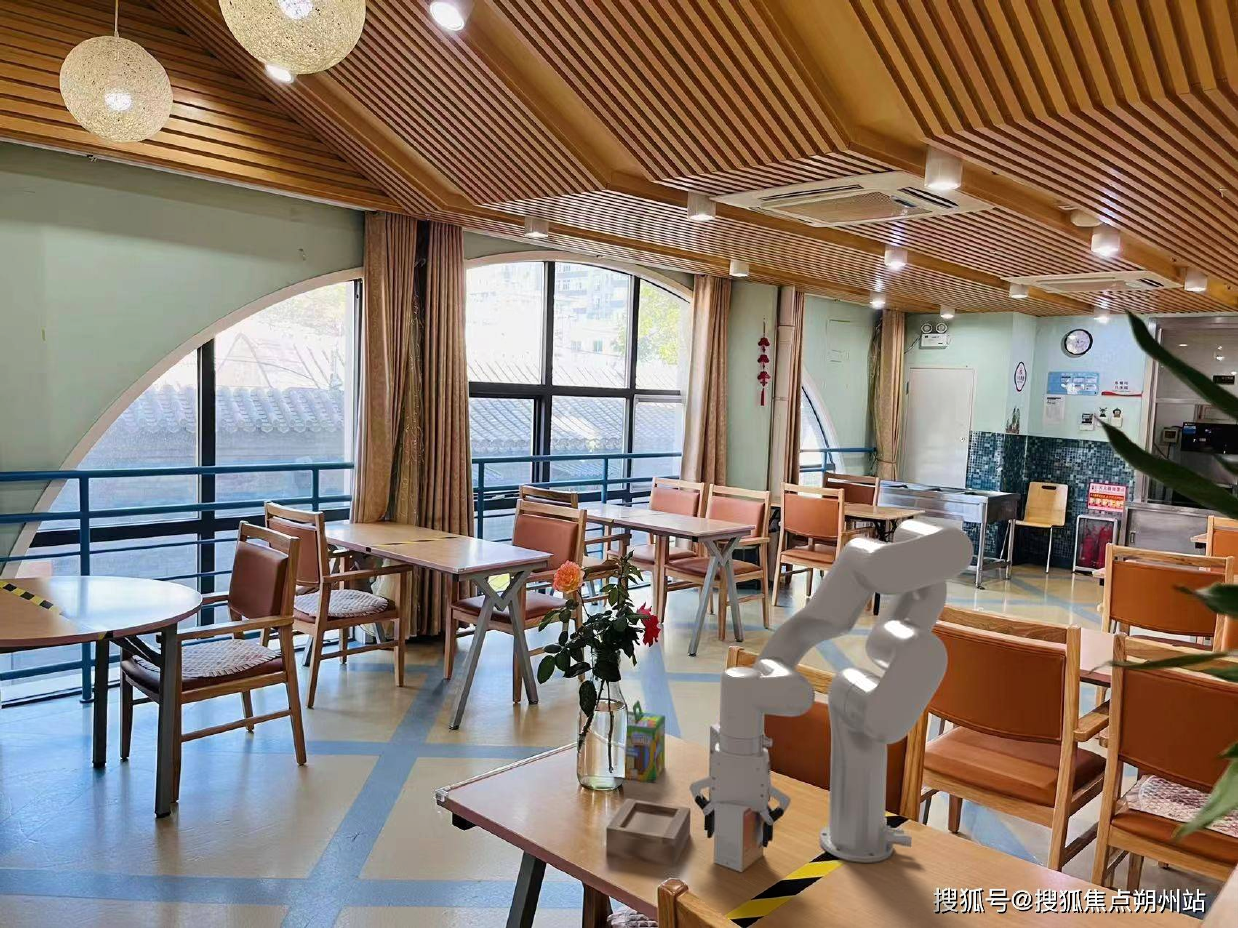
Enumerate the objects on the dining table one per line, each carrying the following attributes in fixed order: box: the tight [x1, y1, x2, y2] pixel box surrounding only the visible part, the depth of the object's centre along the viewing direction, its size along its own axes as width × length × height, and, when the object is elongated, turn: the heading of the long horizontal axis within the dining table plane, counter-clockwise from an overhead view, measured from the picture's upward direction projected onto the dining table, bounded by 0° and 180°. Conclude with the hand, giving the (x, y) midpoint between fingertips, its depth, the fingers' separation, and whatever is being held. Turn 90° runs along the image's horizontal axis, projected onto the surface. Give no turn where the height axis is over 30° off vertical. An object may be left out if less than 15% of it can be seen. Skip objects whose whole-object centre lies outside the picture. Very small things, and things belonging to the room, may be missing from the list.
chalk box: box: [624, 700, 666, 783], centre depth 189 cm, size 9×9×15 cm
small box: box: [713, 803, 765, 873], centre depth 154 cm, size 8×6×10 cm
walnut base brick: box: [605, 798, 691, 867], centre depth 159 cm, size 12×12×5 cm
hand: (738, 839), depth 154 cm, fingers open, 9 cm apart
